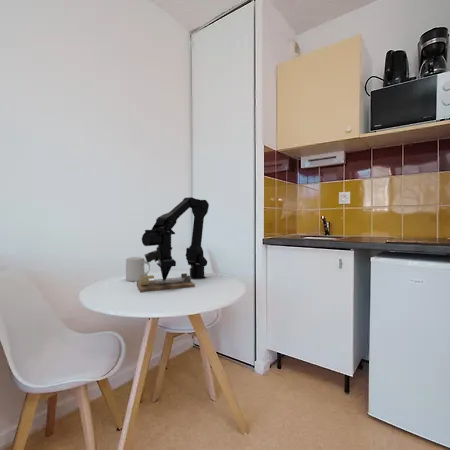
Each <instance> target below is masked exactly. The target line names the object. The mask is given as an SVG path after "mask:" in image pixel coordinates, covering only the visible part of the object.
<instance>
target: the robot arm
mask: <svg viewBox="0 0 450 450" xmlns="http://www.w3.org/2000/svg"><path fill="white" fill-rule="evenodd" d="M209 204H210V203H209V202H208V201H207V199H198V198H195V197H192V196H191V197H184V198H183V199H182V200H181V201H180V202H179V203H178V204H177V205H176V206H175V207H173V208H172V209H171V210H170V211H169V212H166V213H163V214H161V215H160V216H159V217H157V218H156V219H155V223H154V224H153V226H152V228H151V229H145V230H144V233H143V234H142V236H141V243H142V244H143V246H144V247H152V246H153V247H154V246H156V250H153V251H150V252H147V253H145V254H144V259H145V260H146V261H147V262H149V263H152V261H154V262H157V263H156V265H157V266H158V267H159V268H160V269H159V270H160V271H161V279H163V280H166V279H167V278H168V276H169V273H170V271H171V269H172V267H176V266H177V263H176V260H175V259H174V258H173V256H172V250H173V246H172V235H176V233H175V231H173V228H174V227H175V226H176V224H177V222H178V221H177V220H178V219H179V218H180V217H181V216H182V215H183V214H184V213H186V212H187V211H188V210H189V209H191V213H192V215H193V222H192V223H193V225H192V234H191V243H190V246H189V247H186V250H185V251H186V253H185V255H184V256H185V258H186V261H187V265H188V266H190V268H189V276H191V279H193V280H194V279H195V280H196V279H206V276H205V267H206V266H207V264H208V260H207V259H206V257H205V256H204V250H203V247H202V238H203V230H204V220H205V216H206V215H207V214H208V213H209V212H208V211H209V206H210V205H209Z"/></svg>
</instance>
